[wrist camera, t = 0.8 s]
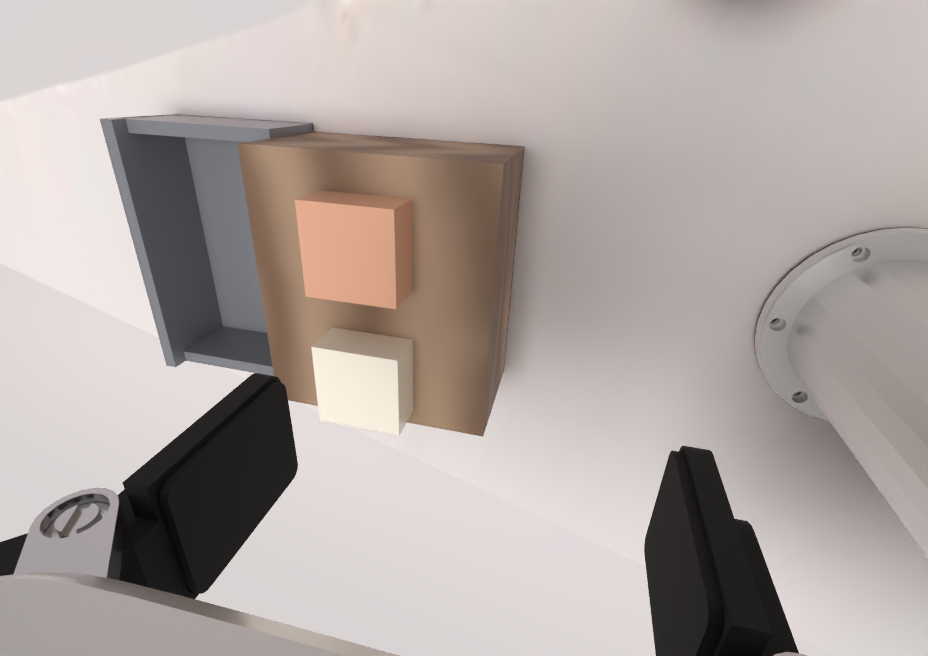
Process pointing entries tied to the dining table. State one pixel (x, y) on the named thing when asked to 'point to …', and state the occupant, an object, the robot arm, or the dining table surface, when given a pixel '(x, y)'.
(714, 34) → the dining table surface
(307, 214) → the terracotta tile
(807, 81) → the dining table surface
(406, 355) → the cream tile
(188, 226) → the box
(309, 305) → the wooden box
